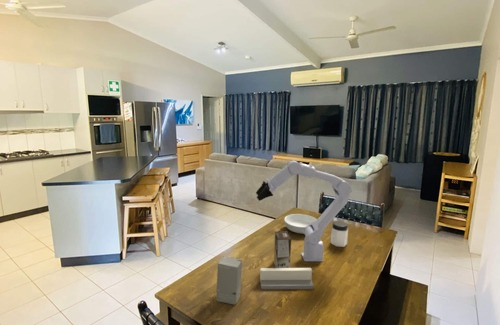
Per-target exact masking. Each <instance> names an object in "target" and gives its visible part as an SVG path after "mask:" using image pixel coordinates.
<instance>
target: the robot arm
mask: <svg viewBox="0 0 500 325" xmlns="http://www.w3.org/2000/svg"><path fill="white" fill-rule="evenodd" d="M295 175H299V176H303V177H305V178H309V179H312V178H317V179H320V180H324V181H326V182H328V183H330V184H331V188H332V189H333V191H334V194H335V199H333V201H332V202H331V203H330V204H329V206H328V207H327V208H326V209H325V210H324V211H323V212H322V214H321V215H320V216H319V217H318V218H316V219H317V220H316V221H315V222H312V223H311V224H310V225H308V226H306V227H305V228H304V234H303V235H305V237H304V239H303V252H300V255H301V256H302V259H303V261H304V262H324V242H323V241H322V240H321V238H322V237H323V236H324V230H325V228H327V226H328V225H329V224H330V223H331V222H332V221H333V219H335V217H336V216H337V215H338V213H340V211H341V210H342V209H343V208H344V207H345V206H346V205H347V203H349V198H350V194H351V193H352V187H351V184H350V183H349V182H348V181H346V180H344V179H343V178H342V177H338V176H337V175H334V174H332V173H328V172H324V171H320V170H316V167H315V166H313V164H306V163H303V162H302V161H300V162H298V161H296V160H294V159H293V160H290V161H287V164H286V165H285V166H284V167H282V168H281V169H280V170H279V171H278V172H277V173H275V174H274V175H273V176H271V178H269V179H268V178H265V180H266V181H264V180H263V181H262V183H261V186H260V187H259V188H258V189H257V190H256V192H255V194H256V195H257V196H256V198H257V200H258V201H262V200H264V199H266V198H270V197H273V196H274V194H273V193H274V192H275V191H277V189H278V188H280V187H281V186H282V185H283V184H285V183H286V182H287V181H288V180H289V179H291V177H293V176H295Z"/></svg>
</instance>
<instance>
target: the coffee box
mask: <svg viewBox="0 0 500 325" xmlns="http://www.w3.org/2000/svg"><path fill="white" fill-rule="evenodd" d="M273 248H274V249H273V250H274V251H273V252H274V255H273V263H274V266H275V267H274V268H291V252H292V237H291V236H290V234H289V233H288V231H287V230H279V231H274V247H273Z"/></svg>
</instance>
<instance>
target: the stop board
mask: <svg viewBox="0 0 500 325" xmlns="http://www.w3.org/2000/svg"><path fill="white" fill-rule="evenodd" d="M259 271H260V273H259V274H260V276H259V277H260V279H259V280H260V283H259V284H260V289H261V290H314V289H315V285H314V283H313V280H312V279H313V278H312V277H313V276H312V275H313V270H312V268H311V267H290V268H276V267H260V270H259Z"/></svg>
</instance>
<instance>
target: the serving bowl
mask: <svg viewBox="0 0 500 325" xmlns="http://www.w3.org/2000/svg"><path fill="white" fill-rule="evenodd" d="M317 219H318V218H316V217H314V216H311V215H309V214H305V213H292V214H288V215H286V216H285V217H284V219H283V220H284V225H285V227H286V228H287V229H288V230H290V231H291V232H293V233H295V234H303V235H305V234H304V228H305V227H306V226H308V225H310V224H311V223H312V222H315V221H316V220H317Z"/></svg>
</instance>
